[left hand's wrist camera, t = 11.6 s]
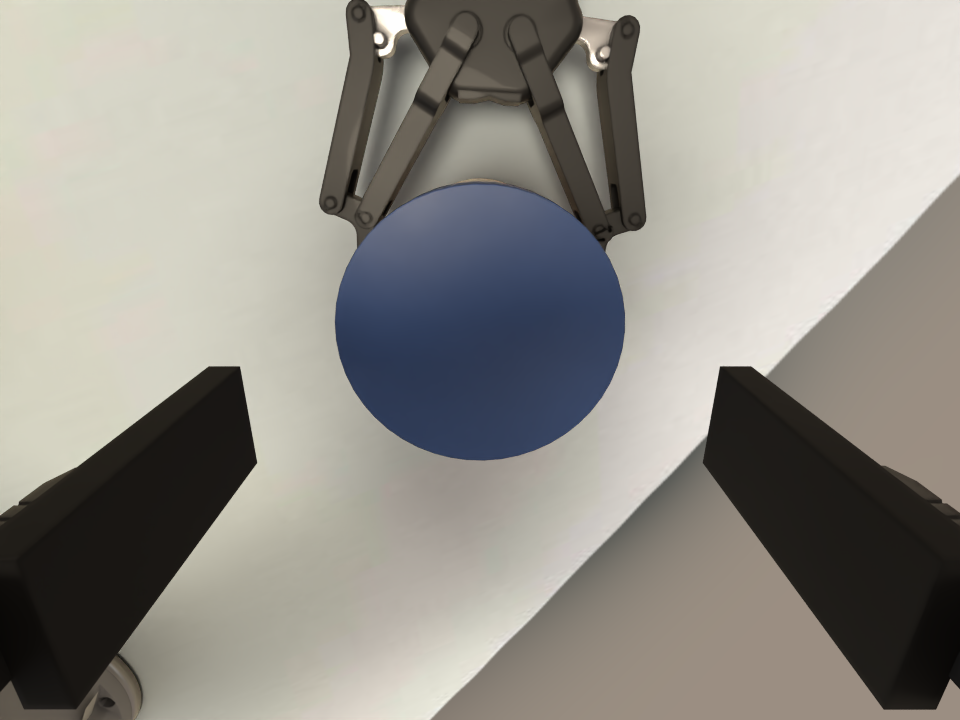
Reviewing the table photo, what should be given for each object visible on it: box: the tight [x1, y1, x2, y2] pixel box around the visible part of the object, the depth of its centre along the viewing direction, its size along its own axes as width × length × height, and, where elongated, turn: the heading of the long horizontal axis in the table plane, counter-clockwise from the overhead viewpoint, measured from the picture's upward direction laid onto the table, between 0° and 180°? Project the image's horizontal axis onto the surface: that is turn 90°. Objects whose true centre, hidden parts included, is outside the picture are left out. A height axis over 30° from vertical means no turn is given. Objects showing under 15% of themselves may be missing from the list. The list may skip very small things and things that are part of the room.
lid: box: [335, 181, 625, 460], centre depth 20 cm, size 11×11×2 cm
